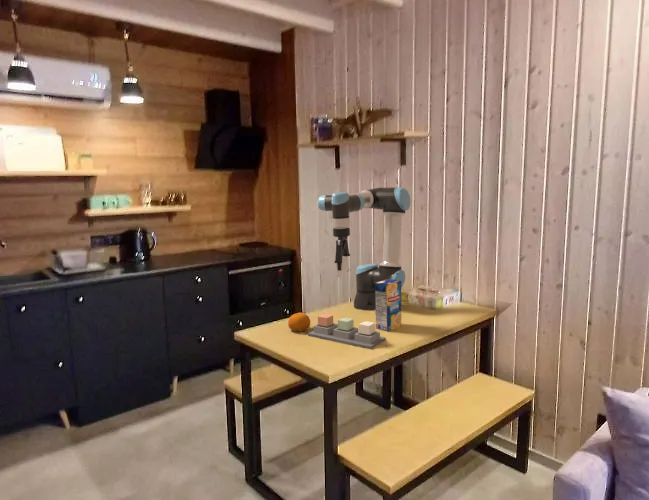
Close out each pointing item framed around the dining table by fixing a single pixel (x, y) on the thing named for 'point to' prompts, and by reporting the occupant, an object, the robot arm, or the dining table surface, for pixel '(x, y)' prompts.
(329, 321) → the button terracotta
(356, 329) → the button board
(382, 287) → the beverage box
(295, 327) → the fruit
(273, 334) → the dining table surface
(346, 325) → the button sage
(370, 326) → the button ivory
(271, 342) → the dining table surface
